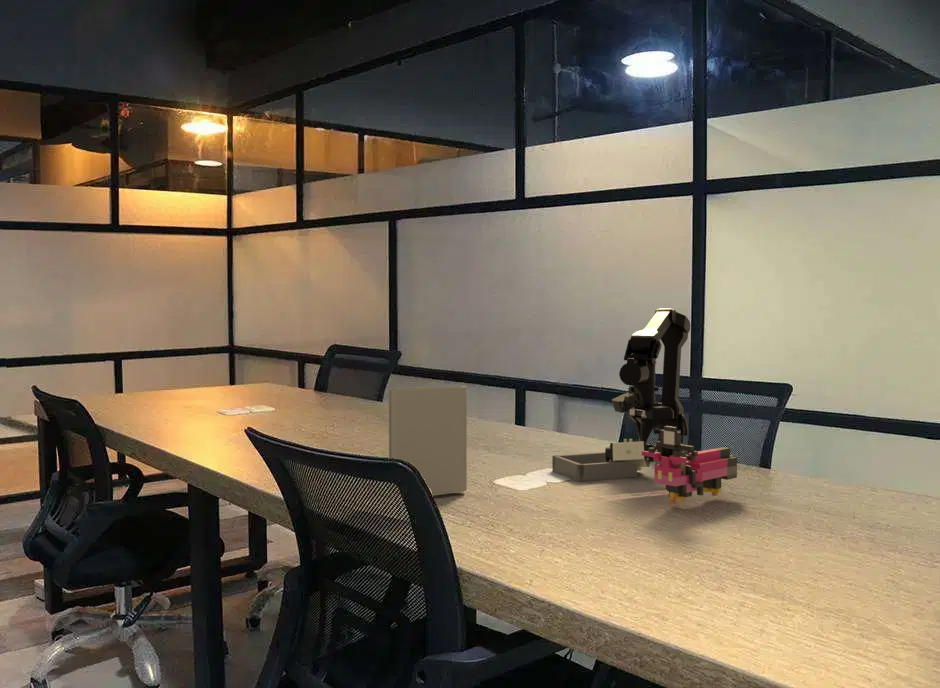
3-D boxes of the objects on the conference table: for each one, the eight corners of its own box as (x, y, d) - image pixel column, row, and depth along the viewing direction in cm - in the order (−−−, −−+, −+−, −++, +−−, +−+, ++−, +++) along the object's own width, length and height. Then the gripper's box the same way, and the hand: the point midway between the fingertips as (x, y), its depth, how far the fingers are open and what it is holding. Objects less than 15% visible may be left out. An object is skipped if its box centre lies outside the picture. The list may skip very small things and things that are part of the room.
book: (394, 498, 185) (394, 390, 184) (388, 495, 189) (388, 388, 188) (469, 490, 193) (469, 386, 192) (462, 487, 197) (462, 385, 196)
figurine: (641, 502, 182) (641, 425, 182) (710, 486, 198) (711, 416, 197) (683, 511, 174) (684, 431, 173) (752, 494, 189) (753, 421, 189)
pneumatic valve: (657, 472, 214) (652, 457, 204) (611, 474, 218) (603, 459, 208) (656, 451, 217) (651, 435, 207) (611, 454, 220) (603, 438, 210)
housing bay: (607, 466, 223) (607, 451, 223) (637, 476, 209) (637, 461, 209) (552, 471, 217) (552, 455, 217) (579, 481, 204) (579, 465, 203)
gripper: (598, 380, 223) (597, 439, 224) (636, 386, 206) (636, 450, 206) (634, 379, 227) (634, 437, 228) (675, 385, 210) (674, 447, 210)
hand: (643, 442), depth 218 cm, fingers closed
